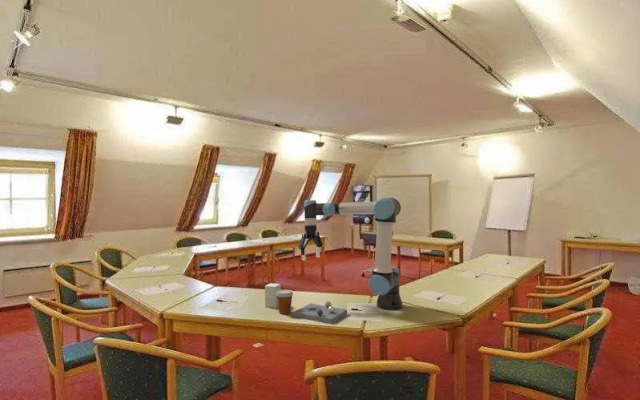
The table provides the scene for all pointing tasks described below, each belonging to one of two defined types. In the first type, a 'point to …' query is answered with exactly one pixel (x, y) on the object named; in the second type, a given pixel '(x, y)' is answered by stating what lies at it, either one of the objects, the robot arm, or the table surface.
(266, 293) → the supplement box
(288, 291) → the disposable coffee cup
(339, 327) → the table surface
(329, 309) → the steel ball
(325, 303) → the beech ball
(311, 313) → the board
